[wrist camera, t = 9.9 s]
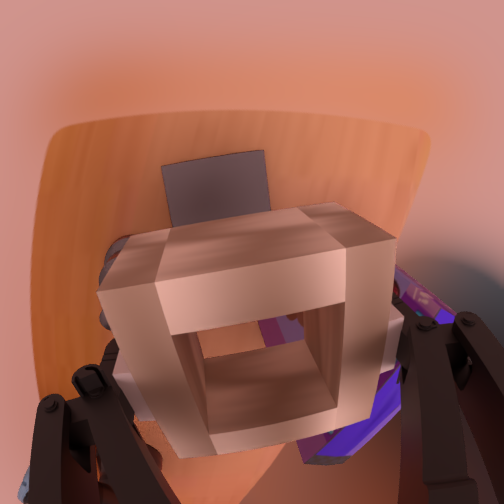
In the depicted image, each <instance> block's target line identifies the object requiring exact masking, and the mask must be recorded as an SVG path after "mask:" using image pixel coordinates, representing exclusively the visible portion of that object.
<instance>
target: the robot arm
mask: <svg viewBox="0 0 504 504" xmlns="http://www.w3.org/2000/svg"><path fill="white" fill-rule="evenodd" d="M396 359H397V360H398V361H399V362H400V364H401V366H400V370H399V374H398V378H397V382H396V384H399V381H400V395H401V463H400V481H399V494H398V504H478V488H477V483H476V481H475V480H474V479H471V478H469V476H468V473H467V462H466V452H465V443H464V435H463V428H462V421H461V415H460V409H459V405H460V407H461V409H462V411H463V414H464V416H465V418H466V420H467V423H468V425H469V427H470V429H471V432H472V434H473V436H474V438H475V441H476V443H477V446H478V448H479V451H480V453H481V456H482V458H483V461H484V463H485V466H486V469H487V471H488V474H489V477H490V480H491V483H492V486H493V488H494V491H495V494H496V497H497V500H498V502H499V504H504V348H503V347H502V346H501V344H500V343H499V342H498V340H497V339H496V338H495V336H494V335H493V334H492V332H491V331H490V330H489V329H488V327H487V326H486V325H485V324H484V322H483V321H482V320H481V319H480V318H479V317H478V316H477V315H476V314H474V313H471V312H460V313H457V314H456V315H455V318H454V322H453V323H446V324H439V323H438V322H437V321H436V320H435V319H433V318H431V317H428V316H418V315H417V314H416V313H415V312H414V311H413V310H412V309H411V308H410V307H409V306H408V305H407V304H406V303H405V302H403V300H402V299H400V298H399V297H398V296H397V295H396V294H395V293H394V292H393V293H392V301H391V309H390V317H389V324H388V331H387V337H386V343H385V349H384V355H383V360H382V365H381V370H380V373H383V372H386V371H389V370H391V369H394V366H395V361H396ZM469 359H471V361H472V362H471V361H470V360H469ZM72 384H73V385H74V387H75V388H76V390H77V392H78V393H79V395H80V396H81V397H78V398H75V399H72V400H68V401H65V400H64V398H63V397H62V396H61V395H59V394H51V395H48V396H46V397H45V398H43V399H42V400H41V401H40V403H39V405H38V408H37V413H36V419H35V426H34V433H33V441H32V449H31V460H30V466H29V468H28V469H27V472H26V474H25V476H24V478H23V482H22V484H21V486H20V488H19V492H18V499H19V500H20V501H21V502H22V503H24V504H181V503H180V501H179V500H178V498H177V497H176V495H175V494H174V492H173V490H172V489H171V487H170V486H169V484H168V482H167V481H166V479H165V478H164V476H163V474H162V473H161V469H162V456H161V455H160V453H159V452H158V451H157V450H155V449H154V448H152V447H151V446H149V445H147V444H145V442H144V440H143V438H142V436H141V434H140V433H139V431H138V429H137V427H136V425H135V424H134V422H133V420H134V413H135V415H136V416H137V418H138V420H139V421H154V420H155V418H154V416H153V414H152V413H151V411H150V409H149V407H148V405H147V404H146V402H145V400H144V398H143V396H142V394H141V392H140V390H139V388H138V387H137V385H136V383H135V381H134V379H133V377H132V375H131V373H130V370H129V368H128V366H127V364H126V362H125V360H124V358H123V356H122V354H121V351H120V349H119V347H118V345H117V342H116V340H115V338H114V339H112V340H111V341H110V343H109V344H108V345H107V346H106V349H105V352H104V355H103V358H102V362H101V363H100V366H98V365H96V364H89V365H85V366H83V367H81V368H79V369H78V370H77V371H76V372H75V373H74V375H73V376H72ZM458 403H459V404H458ZM95 445H96V447H97V449H96V453H95ZM96 458H97V463H98V468H99V473H100V479H99V482H98V479H97V467H96Z"/></svg>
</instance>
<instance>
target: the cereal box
mask: <svg viewBox="0 0 504 504" xmlns="http://www.w3.org/2000/svg"><path fill="white" fill-rule="evenodd" d="M393 292H394V293H395V294H396V295H397V296H398V297H399V298H400V299H402V300H403V302H405V303H406V304H407V305H408V306H409V307H410V308H411V309H412V310H413V311H414V312H415V313H416V314H417V315H418V316H428V317H431V318H433V319H435V320H436V321H437V322H438V323H439V324H446V323H453V322H454V318H455V315H456V312H454V311H453V310H452V309H451V308H449V307H448V306H447V305H446V304H445V303H444V302H442V301H441V300H440V299H439V298H438V297H436V296H435V295H434V294H433V293H431V292H430V291H429V290H428V289H426V288H425V287H424V286H423V285H421V284H420V283H419V282H418V281H416V280H415V279H413V278H412V277H411V276H410V275H409V274H407V273H406V272H405V271H404V270H402V269H401V268H400V267H398V266H397V265H396V264H395V273H394V283H393ZM258 323H259V326H260V329H261V333H262V336H263V339H264V342H265V345H266V348H267V347H272V346H277V345H281V344H286V343H290V342H295V341H299V340H304V322H303V311H302V312H297V313H292V314H288V315H283V316H278V317H273V318H268V319H263V320H258ZM400 366H401V364H400V362H399V361H398V360H397V359H396V361H395V366H394V369H391V370H389V371H386V372H383V373H380V375H379V380H378V385H377V389H376V394H375V398H374V402H373V406H372V410H371V414H370V418H368V419H365V420H362V421H360V422H357V423H354V424H351V425H348V426H345V427H342V428H338V429H335V430H332V431H329V432H325V433H322V434H318V435H315V436H311V437H307V438H303V439H299V440H296V442H297V445H298V448H299V451H300V454H301V457H302V460H303V463H304V464H314V465H335V464H342V463H344V462H345V461H346V460H347V459H348V458H350V457H351V456H352V455H353V454H354V453H355V452H356V451H358V450H359V449H360V448H361V447H362V446H363V445H364V444H365V443H367V442H368V441H369V440H370V439H371V438H372V437H373V436H374V435H375V434H376V433H377V432H378V431H379V430H380V429H381V428H382V427H383V426H384V425H385V424H386V423H387V422H388V421H389V420H390V419H391V418H392V417H393V416H394V415H395V414H396V413H397V412H398V411H399V410H400V409H401V395H400V381H399V384H396V382H397V378H398V374H399V370H400Z"/></svg>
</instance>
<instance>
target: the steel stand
mask: <svg viewBox="0 0 504 504" xmlns="http://www.w3.org/2000/svg"><path fill="white" fill-rule="evenodd" d="M130 236H132V235H127V236H123V237H121V238H119V239H118V240H116V241H115V242H114V243H113V244H112V246H111V247H110V248H109V250H108V251H107V254H106V256H105V261H104V267H103V269H102V270H101V272H100V276H99V286H100V285H101V283H102V281H103V279H104V278H105V276H106V274H107V273H108V271H109V269H110V268H111V266H112V265H113V263H114V261H115V260H116V258H117V256H118V255H119V253H120V252H121V250H122V249H123V247H124V245H125V244H126V242H127V241H128V239H129V238H130ZM99 318H100V322H101V324H102V325H103V326H104V327H105V328H106V329H108V330H111V328H110V326H109V324H108V321H107V319H106V316H105V314H104V311H103V309H102V312H101V314H100V317H99Z"/></svg>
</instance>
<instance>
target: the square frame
mask: <svg viewBox="0 0 504 504" xmlns="http://www.w3.org/2000/svg"><path fill="white" fill-rule="evenodd" d="M396 246H397V238H396V237H394V236H392V235H391V234H389V233H387V232H386V231H384V230H383V229H381V228H379V227H378V226H376V225H374V224H373V223H371V222H369V221H367V220H366V219H364V218H362V217H361V216H359V215H357V214H355V213H354V212H352V211H350V210H348V209H347V208H345V207H343V206H341V205H340V204H338V203H336V202H328V203H321V204H314V205H307V206H300V207H293V208H287V209H280V210H274V211H267V212H261V213H254V214H248V215H242V216H236V217H230V218H224V219H218V220H212V221H207V222H201V223H195V224H190V225H184V226H179V227H173V228H168V229H163V230H157V231H152V232H147V233H142V234H137V235H132V236H130V238H129V239H128V241H127V242H126V244H125V245H124V247H123V249H122V250H121V252H120V253H119V255H118V256H117V258H116V260H115V261H114V263H113V265H112V266H111V268H110V269H109V271H108V273H107V274H106V276H105V278H104V279H103V281H102V283H101V285H100V286H99V288H98V290H97V291H96V293H97V295H98V298H99V301H100V303H101V306H102V309H103V311H104V314H105V316H106V319H107V321H108V324H109V326H110V328H111V331H112V333H113V336H114V338H115V340H116V342H117V345H118V347H119V349H120V351H121V354H122V356H123V358H124V360H125V362H126V364H127V366H128V368H129V370H130V373H131V375H132V377H133V379H134V381H135V383H136V385H137V387H138V388H139V390H140V392H141V394H142V396H143V398H144V400H145V402H146V404H147V405H148V407H149V409H150V411H151V413H152V414H153V416H154V418H155V420H156V421H157V423H158V425H159V427H160V428H161V430H162V432H163V433H164V435H165V437H166V438H167V440H168V441H169V443H170V445H171V446H172V448H173V449H174V451H175V453H176V454H177V456H178V457H179V459H182V458H194V457H204V456H213V455H221V454H228V453H235V452H241V451H247V450H253V449H258V448H263V447H268V446H273V445H278V444H282V443H287V442H291V441H295V440H299V439H303V438H307V437H311V436H315V435H318V434H322V433H325V432H329V431H332V430H335V429H338V428H342V427H345V426H348V425H351V424H354V423H357V422H360V421H362V420H365V419H368V418H370V414H371V410H372V406H373V402H374V398H375V394H376V389H377V385H378V380H379V375H380V370H381V365H382V360H383V355H384V349H385V343H386V337H387V331H388V324H389V317H390V309H391V301H392V293H393V283H394V273H395V260H396ZM302 311H303V322H304V340H299V341H295V342H290V343H286V344H281V345H277V346H272V347H267V348H262V349H257V350H252V351H247V352H241V353H236V354H230V355H224V356H218V357H212V358H206V359H204V357H203V354H202V350H201V347H200V343H199V340H198V336H197V333H196V331H202V330H208V329H214V328H220V327H226V326H231V325H237V324H242V323H248V322H253V321H258V320H263V319H268V318H273V317H278V316H283V315H288V314H292V313H297V312H302Z"/></svg>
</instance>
